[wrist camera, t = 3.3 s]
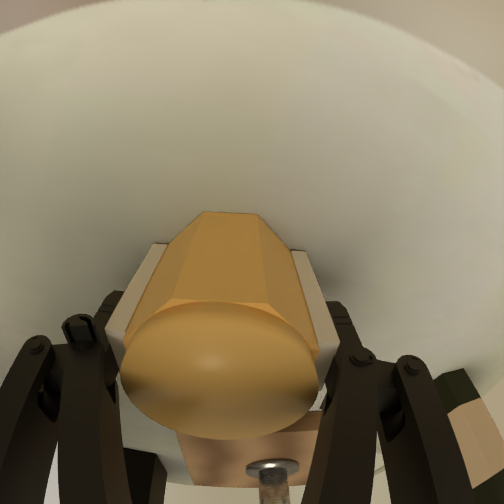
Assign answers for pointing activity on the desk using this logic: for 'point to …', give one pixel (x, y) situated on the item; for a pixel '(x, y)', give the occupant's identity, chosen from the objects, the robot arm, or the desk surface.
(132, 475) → the black pillar candle
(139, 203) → the desk surface
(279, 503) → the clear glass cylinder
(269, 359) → the ochre cap
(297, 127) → the desk surface
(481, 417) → the labelled green bottle
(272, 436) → the walnut board
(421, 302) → the desk surface
